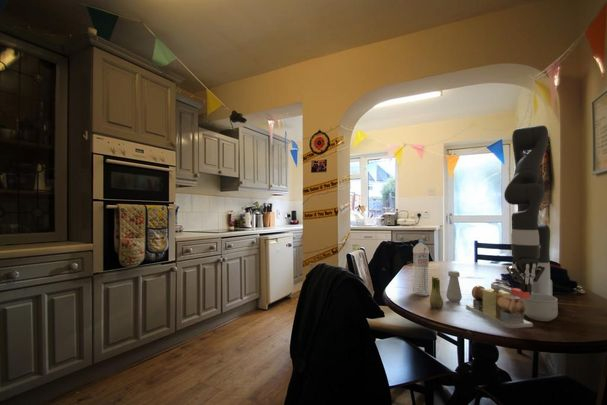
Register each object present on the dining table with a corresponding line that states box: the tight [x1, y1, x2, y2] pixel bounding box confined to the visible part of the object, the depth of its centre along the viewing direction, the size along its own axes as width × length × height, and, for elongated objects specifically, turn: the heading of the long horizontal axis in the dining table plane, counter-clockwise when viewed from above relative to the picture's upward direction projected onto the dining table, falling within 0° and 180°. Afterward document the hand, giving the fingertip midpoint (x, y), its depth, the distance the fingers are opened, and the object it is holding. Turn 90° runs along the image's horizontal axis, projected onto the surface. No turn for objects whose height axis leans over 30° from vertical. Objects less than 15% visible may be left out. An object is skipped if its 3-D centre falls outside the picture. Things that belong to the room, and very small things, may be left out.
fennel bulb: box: [429, 276, 444, 310], centre depth 115 cm, size 6×5×12 cm
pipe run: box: [465, 285, 534, 329], centre depth 106 cm, size 9×20×10 cm, turn 8°
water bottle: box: [412, 239, 430, 297], centre depth 134 cm, size 7×7×25 cm
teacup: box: [519, 292, 559, 322], centre depth 106 cm, size 14×11×8 cm
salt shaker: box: [445, 269, 463, 304], centre depth 123 cm, size 6×6×13 cm
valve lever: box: [490, 282, 530, 299], centre depth 101 cm, size 14×3×2 cm, turn 8°
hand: (526, 294), depth 97 cm, fingers closed
